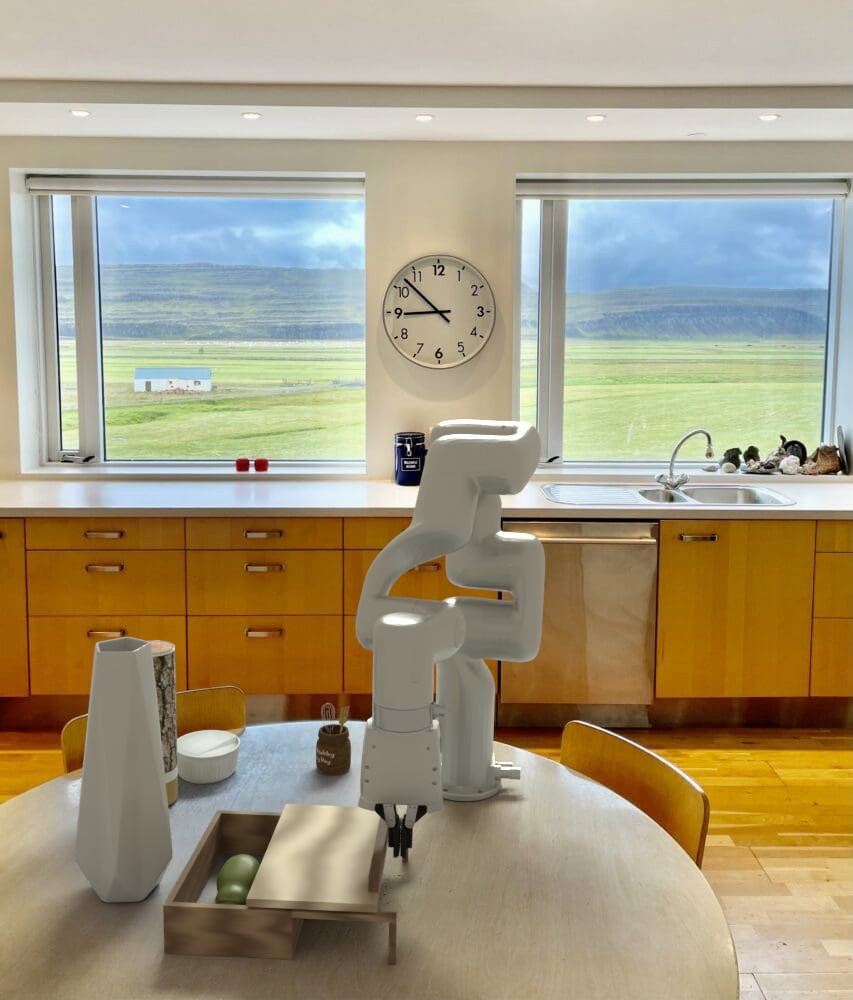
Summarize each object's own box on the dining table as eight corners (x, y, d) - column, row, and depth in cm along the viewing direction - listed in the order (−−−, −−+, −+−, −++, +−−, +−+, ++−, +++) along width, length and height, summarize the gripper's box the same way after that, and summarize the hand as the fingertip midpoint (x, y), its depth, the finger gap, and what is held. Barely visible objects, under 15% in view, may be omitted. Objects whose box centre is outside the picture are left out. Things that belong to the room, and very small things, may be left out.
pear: (266, 846, 120) (249, 902, 111) (267, 880, 122) (250, 937, 112) (223, 844, 120) (203, 900, 111) (225, 878, 122) (205, 935, 112)
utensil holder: (336, 758, 160) (337, 692, 159) (359, 770, 156) (359, 702, 154) (308, 767, 156) (309, 700, 155) (330, 780, 152) (331, 711, 150)
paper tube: (165, 814, 139) (161, 655, 136) (124, 808, 141) (119, 651, 137) (185, 793, 146) (182, 642, 142) (146, 789, 147) (142, 638, 144)
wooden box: (408, 858, 128) (409, 818, 127) (395, 964, 106) (396, 916, 105) (217, 850, 130) (217, 810, 129) (164, 953, 107) (163, 905, 106)
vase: (74, 873, 123) (65, 636, 118) (163, 857, 127) (158, 627, 122) (78, 925, 112) (68, 665, 107) (176, 904, 116) (170, 654, 111)
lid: (392, 815, 128) (393, 794, 127) (376, 912, 105) (376, 888, 104) (285, 810, 128) (285, 790, 128) (246, 906, 105) (246, 882, 105)
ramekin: (232, 788, 148) (232, 757, 148) (164, 786, 149) (163, 756, 148) (247, 759, 160) (246, 730, 159) (183, 757, 160) (182, 728, 159)
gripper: (462, 704, 117) (459, 839, 119) (346, 700, 117) (344, 835, 120) (463, 727, 109) (459, 870, 112) (338, 723, 110) (337, 866, 112)
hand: (400, 851), depth 116 cm, fingers closed
